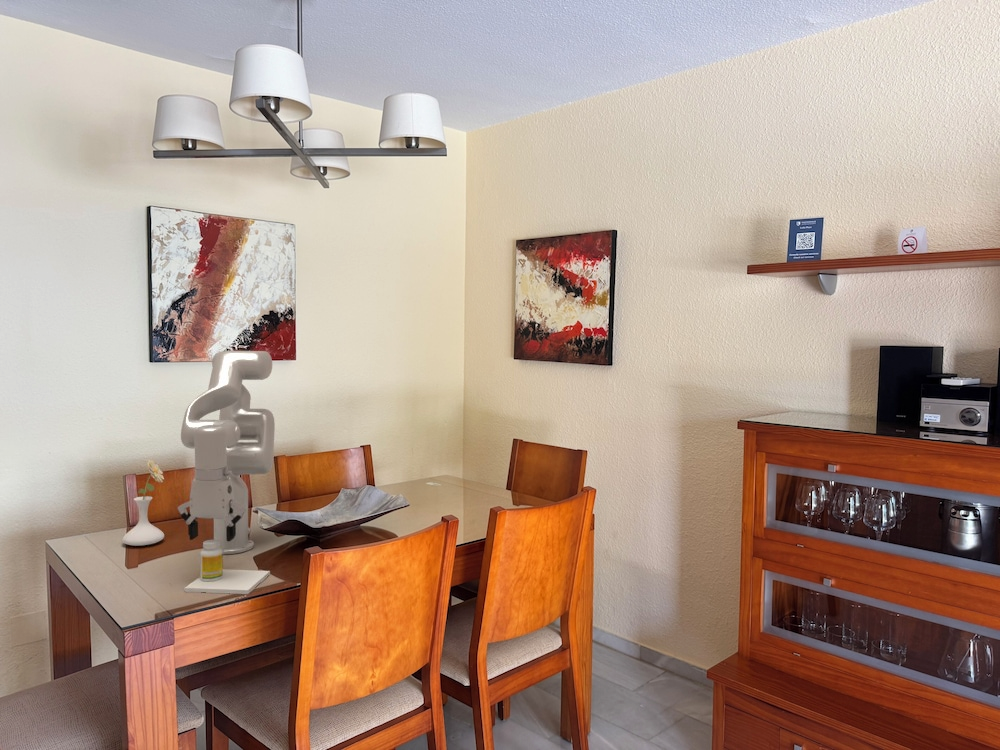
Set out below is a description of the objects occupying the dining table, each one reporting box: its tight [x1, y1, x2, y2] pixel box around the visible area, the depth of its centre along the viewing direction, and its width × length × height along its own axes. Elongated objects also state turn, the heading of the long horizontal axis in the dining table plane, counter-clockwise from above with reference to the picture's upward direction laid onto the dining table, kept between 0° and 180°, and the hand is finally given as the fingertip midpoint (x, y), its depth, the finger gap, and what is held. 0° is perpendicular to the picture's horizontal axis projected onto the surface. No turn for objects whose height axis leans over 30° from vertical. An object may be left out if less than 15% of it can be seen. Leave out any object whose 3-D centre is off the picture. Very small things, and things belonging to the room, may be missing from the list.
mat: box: [183, 568, 271, 595], centre depth 176 cm, size 14×16×1 cm
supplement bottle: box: [199, 538, 224, 581], centre depth 177 cm, size 5×5×10 cm
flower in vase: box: [121, 459, 165, 547], centre depth 209 cm, size 13×11×25 cm
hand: (212, 538), depth 177 cm, fingers open, 9 cm apart
